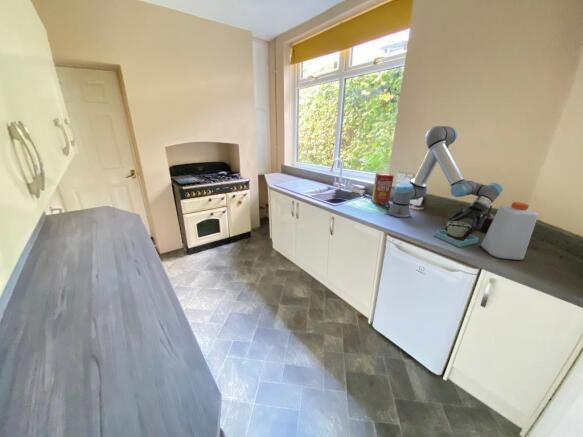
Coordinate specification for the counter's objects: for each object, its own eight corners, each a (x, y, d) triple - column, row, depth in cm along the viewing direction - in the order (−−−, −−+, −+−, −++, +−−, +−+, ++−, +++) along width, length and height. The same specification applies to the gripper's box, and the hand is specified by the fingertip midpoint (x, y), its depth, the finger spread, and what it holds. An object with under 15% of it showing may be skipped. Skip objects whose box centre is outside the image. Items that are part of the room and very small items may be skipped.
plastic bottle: (527, 262, 119) (551, 209, 108) (494, 258, 121) (514, 207, 110) (506, 247, 132) (526, 200, 122) (477, 245, 135) (494, 198, 124)
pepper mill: (494, 229, 157) (504, 203, 150) (490, 233, 150) (500, 207, 143) (467, 222, 168) (475, 198, 161) (462, 226, 161) (470, 201, 154)
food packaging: (372, 203, 204) (377, 174, 195) (371, 200, 213) (375, 172, 203) (388, 204, 202) (394, 175, 193) (386, 201, 211) (391, 173, 202)
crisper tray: (434, 236, 144) (435, 231, 143) (452, 232, 151) (453, 228, 149) (459, 247, 132) (461, 242, 130) (477, 242, 138) (479, 238, 136)
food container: (463, 237, 142) (468, 222, 139) (467, 241, 137) (472, 226, 133) (440, 234, 146) (445, 219, 142) (443, 238, 141) (447, 222, 137)
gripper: (503, 215, 131) (476, 245, 130) (461, 204, 150) (439, 229, 150) (500, 207, 127) (473, 238, 126) (458, 196, 146) (435, 223, 146)
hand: (454, 233), depth 138 cm, fingers closed on food container, 10 cm apart
